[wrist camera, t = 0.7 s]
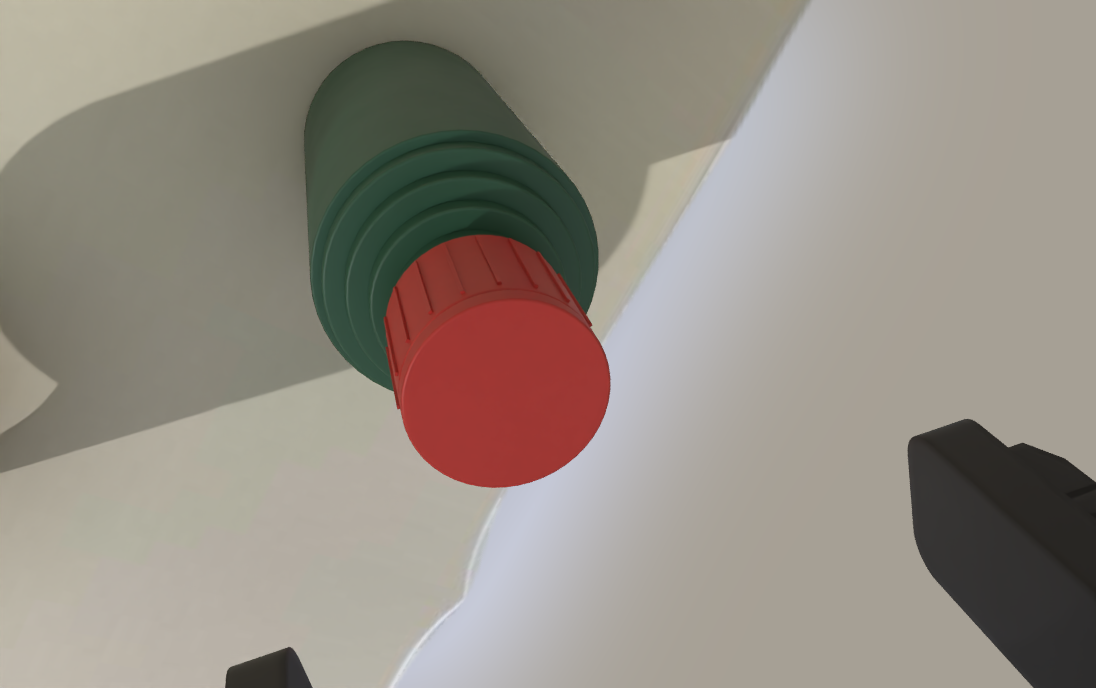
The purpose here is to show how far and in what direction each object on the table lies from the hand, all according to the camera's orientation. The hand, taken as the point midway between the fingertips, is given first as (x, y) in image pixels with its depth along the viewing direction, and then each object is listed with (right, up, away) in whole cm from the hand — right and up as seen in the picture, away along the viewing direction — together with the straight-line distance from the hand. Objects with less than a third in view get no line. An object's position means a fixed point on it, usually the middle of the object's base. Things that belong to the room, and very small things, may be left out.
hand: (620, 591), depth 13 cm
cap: (-2, +4, +10) cm, 11 cm away
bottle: (-6, +10, +24) cm, 27 cm away
